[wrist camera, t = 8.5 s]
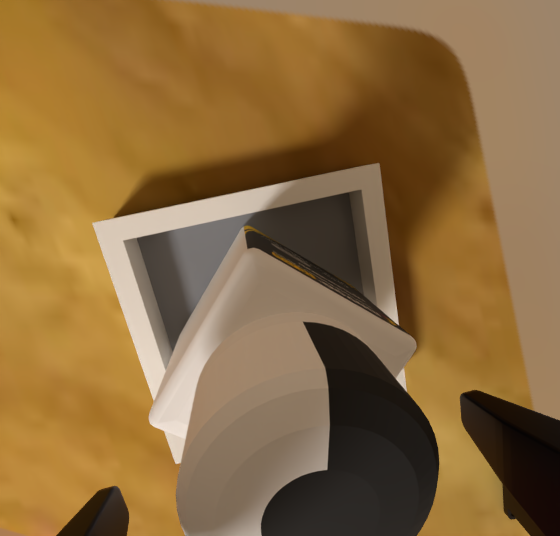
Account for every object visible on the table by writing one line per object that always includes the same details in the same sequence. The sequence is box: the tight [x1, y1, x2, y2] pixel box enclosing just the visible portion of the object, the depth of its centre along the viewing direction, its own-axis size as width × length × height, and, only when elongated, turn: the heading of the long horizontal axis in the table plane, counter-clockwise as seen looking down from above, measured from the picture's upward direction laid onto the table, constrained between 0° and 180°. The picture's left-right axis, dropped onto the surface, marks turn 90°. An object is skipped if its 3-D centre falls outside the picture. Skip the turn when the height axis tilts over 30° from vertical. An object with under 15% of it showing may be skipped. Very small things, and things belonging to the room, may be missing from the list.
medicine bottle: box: [149, 225, 439, 536], centre depth 13 cm, size 7×7×12 cm
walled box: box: [92, 163, 407, 464], centre depth 18 cm, size 13×13×2 cm
